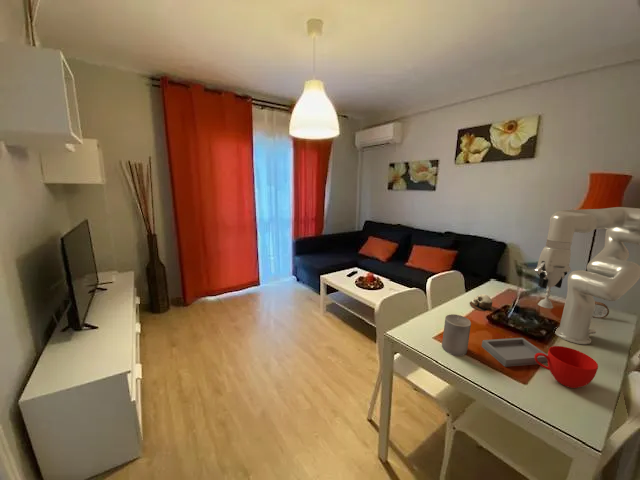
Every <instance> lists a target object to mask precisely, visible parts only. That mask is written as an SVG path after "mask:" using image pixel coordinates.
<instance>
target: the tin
mask: <svg viewBox="0 0 640 480" xmlns="http://www.w3.org/2000/svg"><path fill="white" fill-rule="evenodd" d="M594 301H595V300H594ZM609 314H610V309H609V307H608V305H607V304H606V303H604V302H600V301H595V308H594V312H593V316H592V318H595V319H603V318H606V317H607V316H609Z"/></svg>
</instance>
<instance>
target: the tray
mask: <svg viewBox="0 0 640 480" xmlns="http://www.w3.org/2000/svg"><path fill="white" fill-rule="evenodd" d="M481 348H482V349H484V350H485V351H486V353H487V352H488V353H489V354H490V355H491V356H492V357H493V358H494V359H496V360H497V361H498V363H500V365H502V366H504V368H506V367H508V368H509V367H519V366H533V365H539V364H538V363H537V362H536V361H535V358H534V357H535V354H537V353H543V354H545V355H547V356H548V353H546V352H544V351H543V350H542V349H540V348H539V347H537V346H535V345H534V344H533V343H531V342H530V341H528V340H527V339H526V338H524V337H513V338H498V339H497V338H496V339H495V338H494V339H483V340H481ZM537 360H538V361H539V362H540V363H541V364H543V365H545V364H548V360H547V358H546V357H544V356H538V357H537Z"/></svg>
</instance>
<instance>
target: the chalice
mask: <svg viewBox="0 0 640 480" xmlns="http://www.w3.org/2000/svg"><path fill="white" fill-rule="evenodd" d="M553 268H554V270H553V272H552V273H550V274H549V276H548V278H547V279H548V283H547V288H546V290H545V291H546V293H545V294H544V295H545V298H543V299H540V301H539V302H537V305H538V306H540V307H542V308H545V309H554V306H553V302H552V301H551V300H550V299H549V297H550V296H551V295H550V293H551V292H552V291H551V288H552V287H555V285H556V284H557V283H558V282H559V280H560V279H561V276H562V272H563V269H564V268H565V267H564V268H556V267H553ZM544 271H546V270H544ZM545 274H546V273H545V272H544V275H545Z"/></svg>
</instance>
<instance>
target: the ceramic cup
mask: <svg viewBox="0 0 640 480" xmlns="http://www.w3.org/2000/svg"><path fill="white" fill-rule="evenodd" d="M547 355H548V356H547ZM547 355H545V354H543V353H537V354H535V357H534V358H535V361H536V362H537V363H538V364H537V365H539V366H541V367H542V368H544V369H545V370H548V371H549V372H550V373H551V375H552V376H553V377H554V379H555V380H556V382H558V383H559V384H561V385H563V386H565V387H568V388H571V389H579V388H582V387H585V386H587V385H588V384H590V383H591V382H592V381H593V380H594V378H595V377H596V375H597V372H598V369H599V365H598V362H597V361H596V360H595V359H594V358H592V357H591V356H589V355H588V354H586V353H584V352H582V351H579V350H577V349H575V348H572V347H566V346H563V345H562V346H561V345H553V346H551V347H549V348H548V352H547ZM538 356H544V357H546V358H547V360H548V363H547V365H545V364H541V363H540V362H539V361H538V360H537V357H538Z"/></svg>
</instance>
